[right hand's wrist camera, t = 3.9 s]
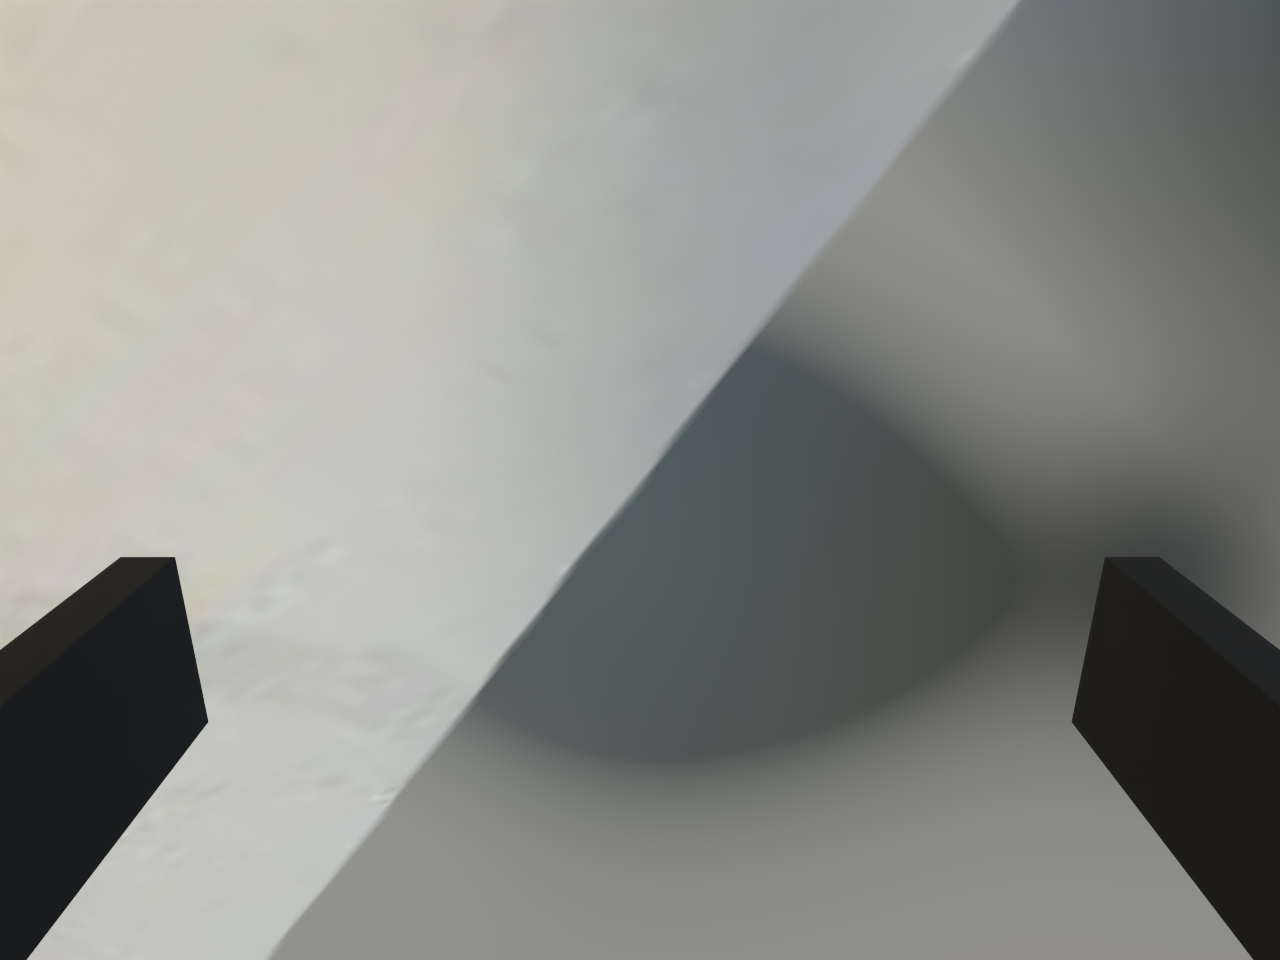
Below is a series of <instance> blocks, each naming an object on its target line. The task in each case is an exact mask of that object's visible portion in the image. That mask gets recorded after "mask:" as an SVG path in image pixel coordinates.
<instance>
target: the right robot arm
mask: <svg viewBox="0 0 1280 960" xmlns="http://www.w3.org/2000/svg"><path fill="white" fill-rule="evenodd" d="M207 723H208V718H207V713H206V708H205V703H204V698H203V693H202V689H201V684H200V679H199V674H198V669H197V664H196V659H195V654H194V649H193V644H192V639H191V634H190V629H189V624H188V619H187V614H186V609H185V605H184V600H183V595H182V590H181V585H180V580H179V575H178V570H177V565H176V560H175V557H120V558H119V559H118V560H116V561H115V562H114V563H113V564H111V565H110V566H109V567H107V568H106V569H105V570H103V571H102V572H101V573H100V574H98V575H97V576H96V577H94V578H93V579H92V580H90V581H89V582H88V583H87V584H85V585H84V586H83V587H81V588H80V589H79V590H77V591H76V592H75V593H74V594H72V595H71V596H70V597H68V598H67V599H66V600H65V601H63V602H62V603H61V604H59V605H58V606H57V607H55V608H54V609H53V610H52V611H50V612H49V613H48V614H46V615H45V616H44V617H42V618H41V619H40V620H39V621H37V622H36V623H35V624H33V625H32V626H31V627H29V628H28V629H27V630H26V631H24V632H23V633H22V634H20V635H19V636H18V637H17V638H15V639H14V640H13V641H11V642H10V643H9V644H7V645H6V646H5V647H4V648H2V649H1V650H0V960H27V958H28V957H29V956H30V954H31V953H32V952H33V951H34V949H35V948H36V947H37V945H38V944H39V943H40V941H41V940H42V939H43V937H44V936H45V935H46V934H47V932H48V931H49V930H50V928H51V927H52V926H53V924H54V923H55V922H56V920H57V919H58V918H59V917H60V915H61V914H62V913H63V911H64V910H65V909H66V907H67V906H68V905H69V903H70V902H71V901H72V900H73V898H74V897H75V896H76V894H77V893H78V892H79V890H80V889H81V888H82V886H83V885H84V884H85V882H86V881H87V880H88V879H89V877H90V876H91V875H92V873H93V872H94V871H95V869H96V868H97V867H98V865H99V864H100V863H101V862H102V860H103V859H104V858H105V856H106V855H107V854H108V852H109V851H110V850H111V848H112V847H113V846H114V845H115V843H116V842H117V841H118V839H119V838H120V837H121V835H122V834H123V833H124V831H125V830H126V829H127V828H128V826H129V825H130V824H131V822H132V821H133V820H134V818H135V817H136V816H137V814H138V813H139V812H140V811H141V809H142V808H143V807H144V805H145V804H146V803H147V801H148V800H149V799H150V797H151V796H152V795H153V794H154V792H155V791H156V790H157V788H158V787H159V786H160V784H161V783H162V782H163V780H164V779H165V778H166V777H167V775H168V774H169V773H170V771H171V770H172V769H173V767H174V766H175V765H176V763H177V762H178V761H179V759H180V758H181V757H182V756H183V754H184V753H185V752H186V750H187V749H188V748H189V746H190V745H191V744H192V742H193V741H194V740H195V739H196V737H197V736H198V735H199V733H200V732H201V731H202V729H203V728H204V727H205V725H206V724H207ZM1072 723H1073V724H1074V725H1075V727H1076V728H1077V729H1078V731H1079V732H1080V733H1081V735H1082V736H1083V737H1084V739H1085V740H1086V741H1087V742H1088V744H1089V745H1090V746H1091V748H1092V749H1093V750H1094V752H1095V753H1096V754H1097V756H1098V757H1099V758H1100V759H1101V761H1102V762H1103V763H1104V765H1105V766H1106V767H1107V769H1108V770H1109V771H1110V773H1111V774H1112V775H1113V777H1114V778H1115V779H1116V780H1117V782H1118V783H1119V784H1120V786H1121V787H1122V788H1123V790H1124V791H1125V792H1126V794H1127V795H1128V796H1129V797H1130V799H1131V800H1132V801H1133V803H1134V804H1135V805H1136V807H1137V808H1138V809H1139V811H1140V812H1141V813H1142V814H1143V816H1144V817H1145V818H1146V820H1147V821H1148V822H1149V824H1150V825H1151V826H1152V828H1153V829H1154V830H1155V831H1156V833H1157V834H1158V835H1159V837H1160V838H1161V839H1162V841H1163V842H1164V843H1165V845H1166V846H1167V847H1168V848H1169V850H1170V851H1171V852H1172V854H1173V855H1174V856H1175V858H1176V859H1177V860H1178V862H1179V863H1180V864H1181V865H1182V867H1183V868H1184V869H1185V871H1186V872H1187V873H1188V875H1189V876H1190V877H1191V879H1192V880H1193V881H1194V883H1195V884H1196V885H1197V886H1198V888H1199V889H1200V890H1201V892H1202V893H1203V894H1204V896H1205V897H1206V898H1207V899H1208V901H1209V902H1210V903H1211V905H1212V906H1213V907H1214V909H1215V910H1216V911H1217V913H1218V914H1219V915H1220V917H1221V918H1222V919H1223V920H1224V922H1225V923H1226V924H1227V926H1228V927H1229V928H1230V930H1231V931H1232V932H1233V934H1234V935H1235V936H1236V937H1237V939H1238V940H1239V941H1240V943H1241V944H1242V945H1243V947H1244V948H1245V949H1246V950H1247V952H1248V953H1249V954H1250V956H1251V957H1252V958H1253V960H1280V650H1279V649H1278V648H1276V647H1275V646H1274V645H1273V644H1271V643H1270V642H1269V641H1267V640H1266V639H1265V638H1263V637H1262V636H1261V635H1259V634H1258V633H1257V632H1256V631H1254V630H1253V629H1252V628H1251V627H1249V626H1248V625H1247V624H1245V623H1244V622H1243V621H1241V620H1240V619H1239V618H1237V617H1236V616H1235V615H1234V614H1232V613H1231V612H1230V611H1228V610H1227V609H1226V608H1224V607H1223V606H1222V605H1221V604H1219V603H1218V602H1217V601H1215V600H1214V599H1213V598H1212V597H1210V596H1209V595H1208V594H1206V593H1205V592H1204V591H1203V590H1201V589H1200V588H1199V587H1197V586H1196V585H1195V584H1193V583H1192V582H1191V581H1190V580H1188V579H1187V578H1186V577H1184V576H1183V575H1182V574H1180V573H1179V572H1178V571H1177V570H1175V569H1174V568H1173V567H1171V566H1170V565H1169V564H1167V563H1166V562H1165V561H1164V560H1162V559H1161V558H1160V557H1105V560H1104V565H1103V570H1102V575H1101V580H1100V585H1099V590H1098V595H1097V600H1096V605H1095V609H1094V614H1093V619H1092V624H1091V629H1090V634H1089V639H1088V644H1087V649H1086V654H1085V659H1084V664H1083V669H1082V674H1081V679H1080V684H1079V689H1078V693H1077V698H1076V703H1075V708H1074V713H1073V718H1072Z"/></svg>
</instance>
